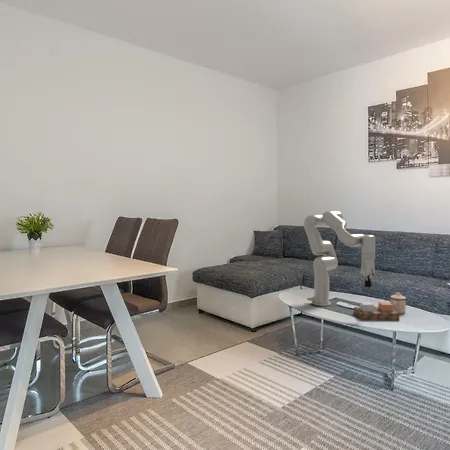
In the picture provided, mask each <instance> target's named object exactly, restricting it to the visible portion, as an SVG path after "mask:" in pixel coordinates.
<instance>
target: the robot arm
mask: <svg viewBox="0 0 450 450" xmlns="http://www.w3.org/2000/svg"><path fill="white" fill-rule="evenodd" d="M347 226H348V225H347V221H345V220H344V217H343V214H342V213H341V212H340V211H338V210H326V211H324V212H323V213H322V214H318V213H316V214H315V213H314V214H310V215H307V216H306V217H305V218H304V221H303V228H304V231H305V233H306V236H307V239H308V243H309V246H310V250H311V252H312V254H313V255H315V256H317V257H316V258H315V259H314V260H313V262H312V266H313V271H314V273H313V274H314V286H313V288H314V289H313V290H314V291H313V294H314V295H313V296H312V297H309V296H308V297H306V300H307V301H310V302H311V304H313V305H315V306H320V307H328V306H331V305H332V302H331V301H330V276H329V275H330V274H329V273H328V272H329V271H331V270H332V271H333V270H335V269H336V268H337V267H338V262H339V261H338V258H337V254H336V251H335V250H336V249H335V248H334V245H333V244H332V242H331V241H329V240H327V239H326V240H323V239H322V236H321V233H320V232H319V230H318V229H317V228H320V227H321V228H325V227H329V228H330V229H332V230H333V231H334V232H335V233H336V236H337V238H338V240H339V241H340V242H341V243H342V244H343V245H346V246H347V247H349V248H355V247H361V257H360V258H361V263H360V274H361V275H363V276H364V287H365V288H372V279H373V277H374V276H375V274H376V273H375V270H376V269H375V267H376V265H375V260H376V236H375V235H373V234H363V233H353V234H351V233H350V232H349V231H347V230H346V228H347Z"/></svg>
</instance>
